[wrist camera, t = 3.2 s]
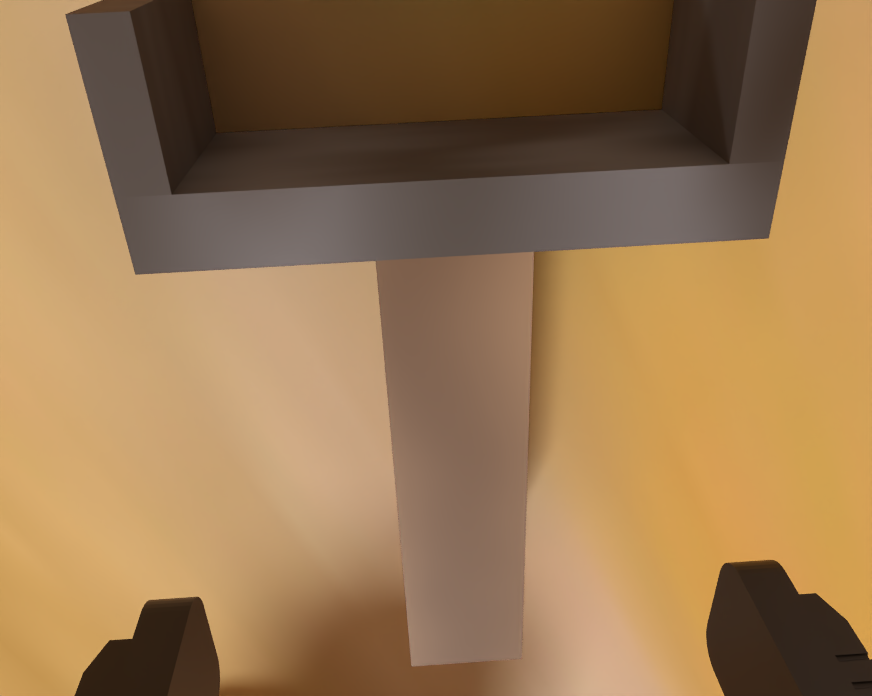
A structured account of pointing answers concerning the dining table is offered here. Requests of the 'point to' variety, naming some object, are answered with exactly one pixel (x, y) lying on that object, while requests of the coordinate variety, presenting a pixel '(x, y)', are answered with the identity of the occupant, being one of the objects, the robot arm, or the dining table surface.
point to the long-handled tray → (447, 245)
